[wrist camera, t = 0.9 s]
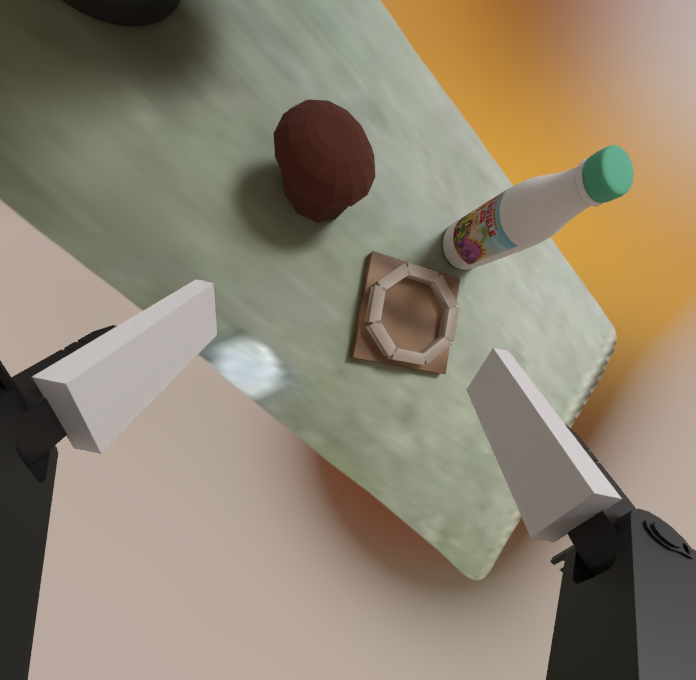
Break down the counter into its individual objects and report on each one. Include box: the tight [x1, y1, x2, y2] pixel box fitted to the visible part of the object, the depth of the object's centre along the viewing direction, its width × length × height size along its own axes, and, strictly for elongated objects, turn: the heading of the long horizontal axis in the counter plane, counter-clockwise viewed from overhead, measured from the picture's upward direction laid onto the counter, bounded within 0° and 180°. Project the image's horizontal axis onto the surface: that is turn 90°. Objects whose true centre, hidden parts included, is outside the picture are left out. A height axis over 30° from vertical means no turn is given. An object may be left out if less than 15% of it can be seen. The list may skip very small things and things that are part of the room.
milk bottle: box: [443, 145, 633, 270], centre depth 33 cm, size 8×8×20 cm
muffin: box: [274, 100, 375, 222], centre depth 31 cm, size 12×11×10 cm
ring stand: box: [351, 251, 460, 374], centre depth 38 cm, size 15×15×3 cm
